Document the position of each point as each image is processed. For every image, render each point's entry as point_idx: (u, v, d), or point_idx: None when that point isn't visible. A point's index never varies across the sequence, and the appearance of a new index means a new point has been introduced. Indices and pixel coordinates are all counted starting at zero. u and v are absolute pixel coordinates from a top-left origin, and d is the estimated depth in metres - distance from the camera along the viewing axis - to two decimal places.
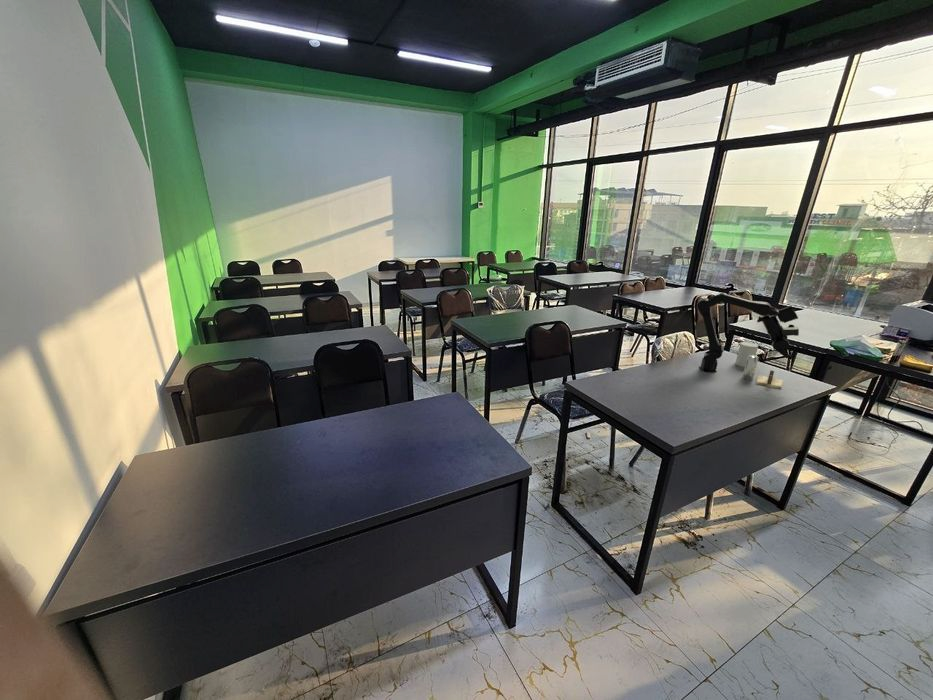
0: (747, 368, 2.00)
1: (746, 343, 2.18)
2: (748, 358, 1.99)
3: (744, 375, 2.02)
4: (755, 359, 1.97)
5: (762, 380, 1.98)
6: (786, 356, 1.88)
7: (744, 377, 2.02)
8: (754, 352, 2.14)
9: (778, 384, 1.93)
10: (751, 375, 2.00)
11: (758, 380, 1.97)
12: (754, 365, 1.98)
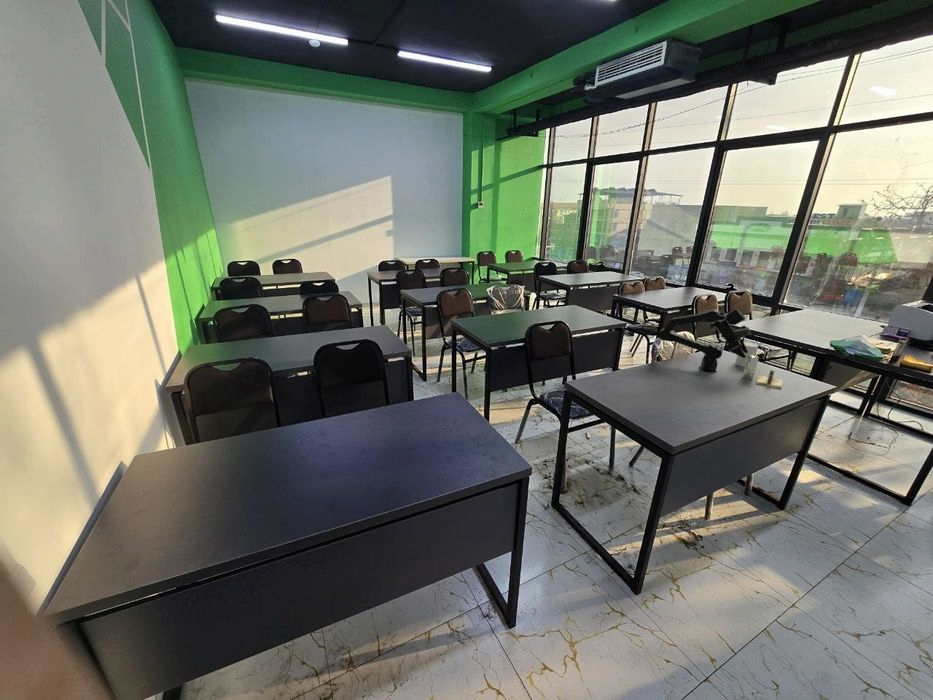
0: (747, 368, 2.00)
1: (746, 343, 2.18)
2: (748, 358, 1.99)
3: (744, 375, 2.02)
4: (755, 359, 1.97)
5: (762, 380, 1.98)
6: (743, 356, 1.97)
7: (744, 377, 2.02)
8: (754, 352, 2.14)
9: (778, 384, 1.93)
10: (751, 375, 2.00)
11: (758, 380, 1.97)
12: (754, 365, 1.98)
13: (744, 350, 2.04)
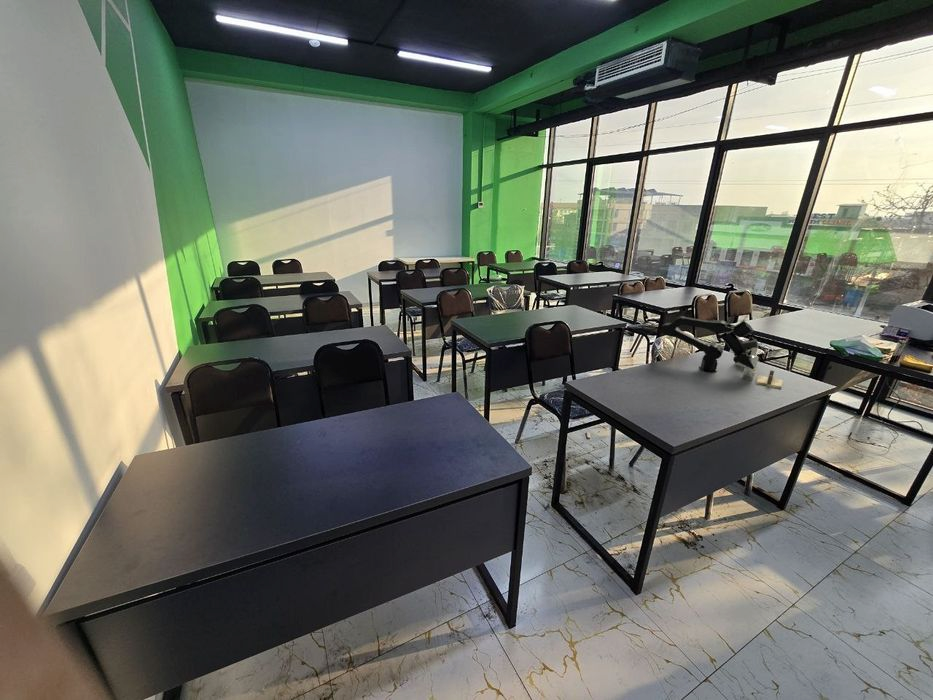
0: (747, 367, 2.00)
1: None
2: None
3: (744, 375, 2.02)
4: (755, 359, 1.97)
5: (762, 380, 1.98)
6: (751, 367, 1.98)
7: (744, 377, 2.02)
8: (754, 352, 2.14)
9: (778, 384, 1.93)
10: (751, 375, 2.00)
11: (758, 380, 1.97)
12: (754, 365, 1.98)
13: None
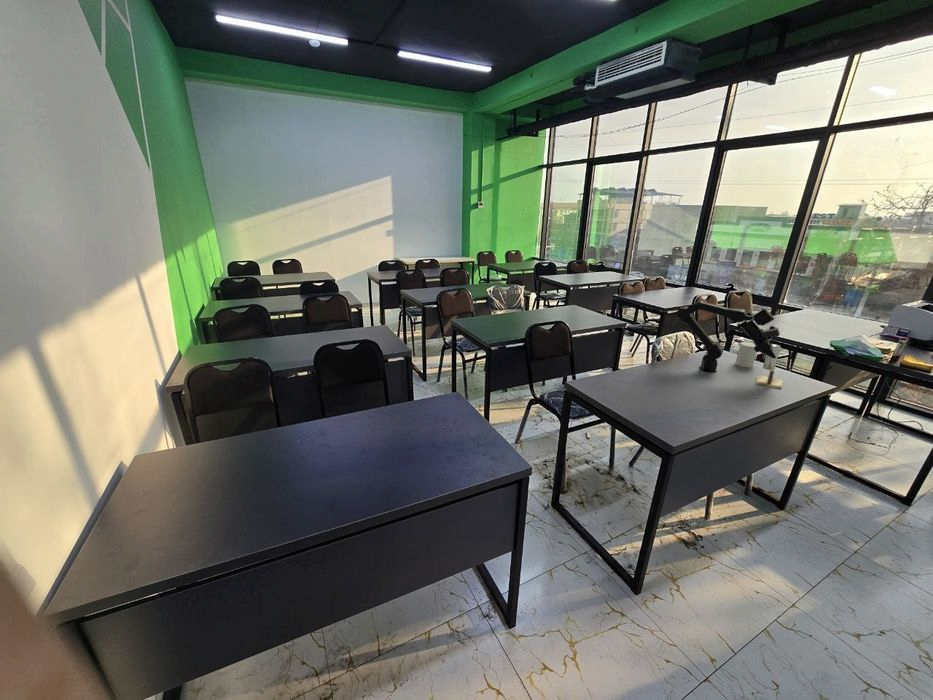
0: (768, 357, 1.93)
1: (746, 343, 2.18)
2: None
3: (765, 365, 1.95)
4: (777, 348, 1.90)
5: (762, 380, 1.98)
6: (772, 356, 1.91)
7: (765, 367, 1.95)
8: (754, 352, 2.14)
9: (778, 384, 1.93)
10: (773, 365, 1.93)
11: (758, 380, 1.97)
12: (776, 354, 1.91)
13: None
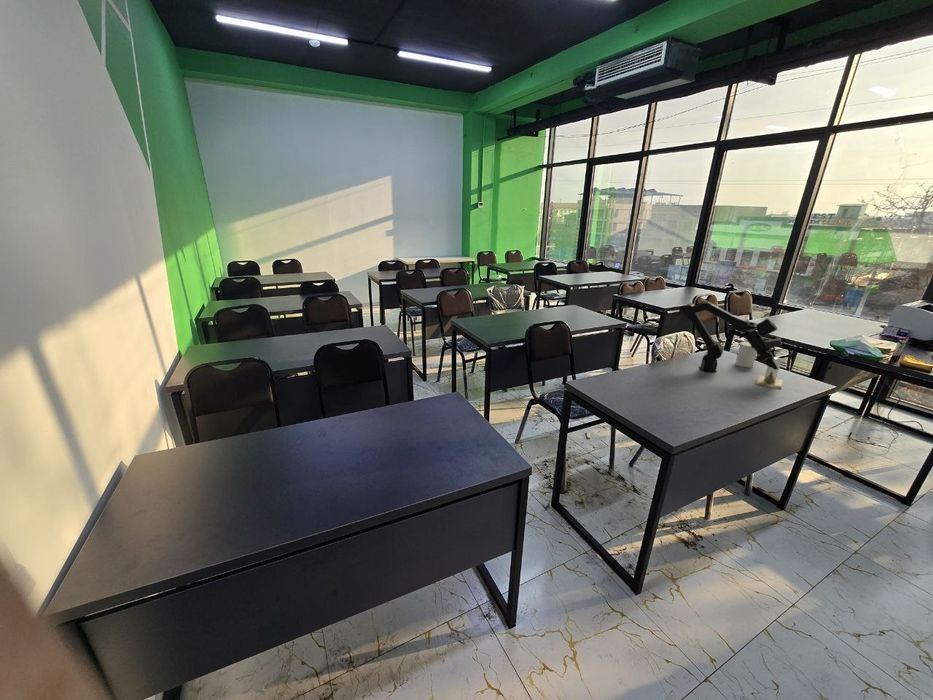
0: (769, 370, 1.94)
1: (746, 343, 2.18)
2: None
3: (766, 377, 1.96)
4: (778, 361, 1.91)
5: (762, 380, 1.98)
6: (774, 367, 1.90)
7: (766, 379, 1.96)
8: (754, 352, 2.14)
9: (778, 384, 1.93)
10: (773, 377, 1.94)
11: (758, 380, 1.97)
12: (777, 367, 1.92)
13: None
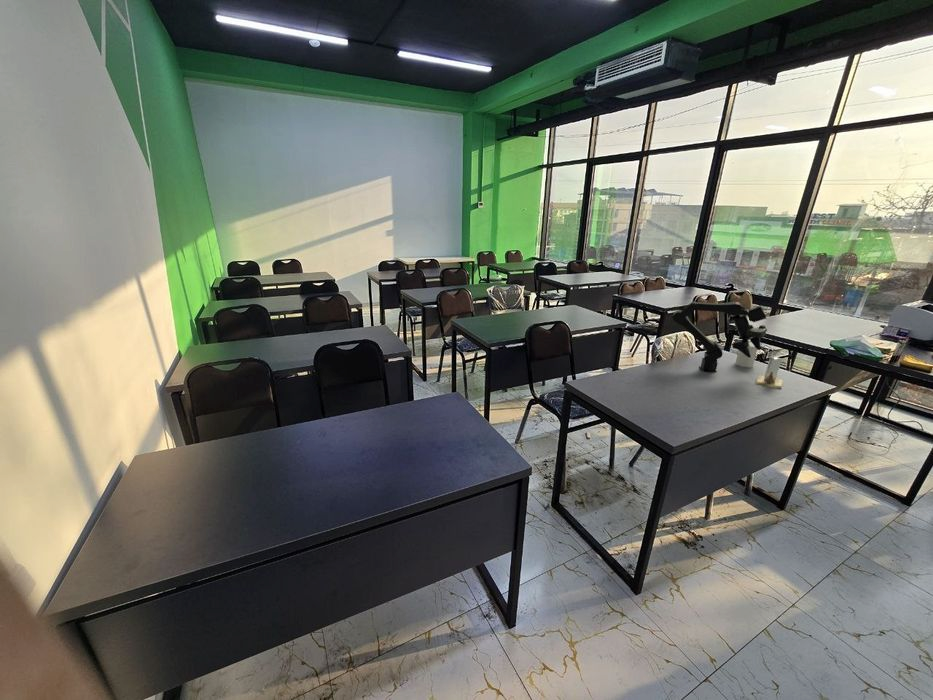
0: (769, 370, 1.94)
1: None
2: (771, 360, 1.93)
3: (766, 377, 1.96)
4: (778, 361, 1.91)
5: (762, 380, 1.98)
6: (747, 355, 1.98)
7: (766, 379, 1.96)
8: (754, 352, 2.14)
9: (778, 384, 1.93)
10: (773, 377, 1.94)
11: (758, 380, 1.97)
12: (777, 367, 1.92)
13: (757, 347, 2.02)
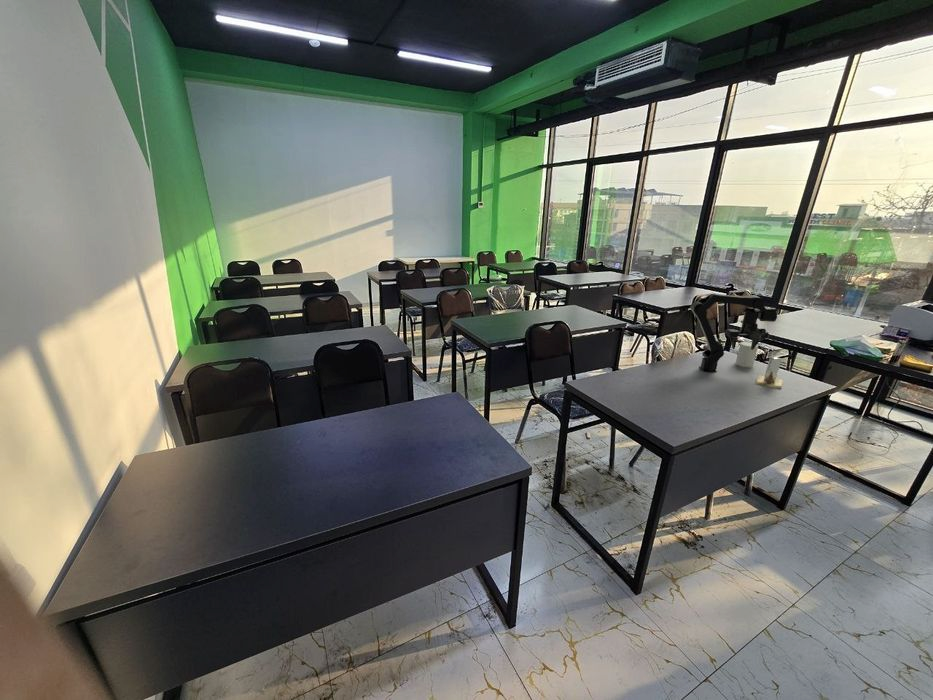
0: (769, 370, 1.94)
1: (746, 343, 2.18)
2: (770, 360, 1.93)
3: (766, 377, 1.96)
4: (778, 361, 1.91)
5: (762, 380, 1.98)
6: (732, 346, 2.06)
7: (766, 379, 1.96)
8: (754, 352, 2.14)
9: (778, 384, 1.93)
10: (773, 377, 1.94)
11: (758, 380, 1.97)
12: (777, 367, 1.92)
13: (752, 346, 2.05)
